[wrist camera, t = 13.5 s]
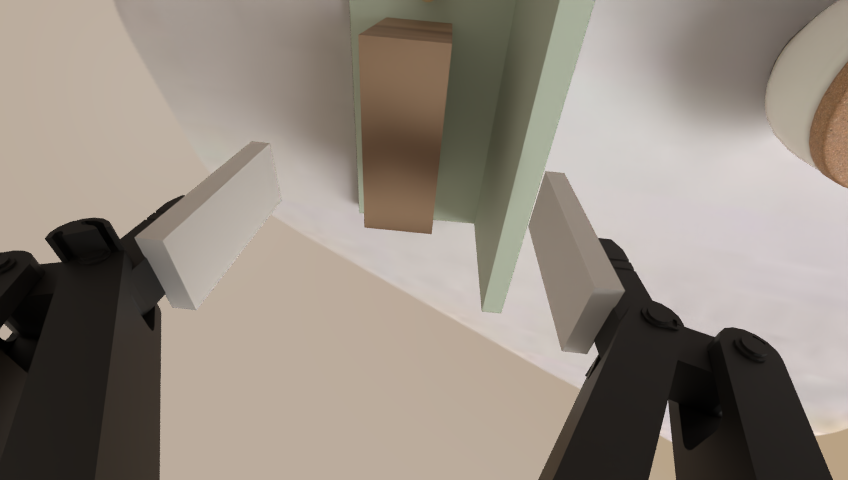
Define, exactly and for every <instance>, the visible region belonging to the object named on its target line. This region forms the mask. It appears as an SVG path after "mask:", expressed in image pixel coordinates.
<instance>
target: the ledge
mask: <svg viewBox="0 0 848 480" xmlns="http://www.w3.org/2000/svg"><path fill="white" fill-rule="evenodd" d="M594 2H595V0H349V8H350V28H351V49H352V69H353V89H354V110H355V130H356V151H357V171H358V192H359V212H360V213H364V194H363V164H362V133H361V103H360V72H359V42H358V35H359V34H360V33H362V32H364V31H365V30H367V29H368V28H370V27H372V26H373V25H375V24H377V23H378V22H380V21H381V20H383V19H385V18H386V17H389V18H400V19H410V20H421V21H431V22H442V23H452V50H451V60H450V69H449V78H448V87H447V96H446V105H445V115H444V124H443V133H442V142H441V151H440V160H439V170H438V179H437V188H436V197H435V206H434V215H433V220H441V221H452V222H462V223H473V224H474V226H475V238H476V250H477V261H478V273H479V284H480V296H481V308H482V312H492V313H501V312H502V308H503V305H504V302H505V298H506V295H507V292H508V288H509V285H510V282H511V278H512V275H513V272H514V268H515V265H516V262H517V258H518V255H519V252H520V248H521V245H522V242H523V238H524V235H525V232H526V229H527V225H528V222H529V219H530V215H531V212H532V209H533V205H534V202H535V199H536V195H537V192H538V189H539V185H540V182H541V179H542V175H543V172H544V169H545V165H546V162H547V159H548V155H549V152H550V149H551V145H552V142H553V139H554V135H555V132H556V129H557V125H558V122H559V119H560V115H561V112H562V109H563V105H564V102H565V99H566V96H567V92H568V89H569V86H570V82H571V79H572V76H573V72H574V69H575V66H576V62H577V59H578V56H579V52H580V49H581V46H582V42H583V39H584V36H585V32H586V29H587V26H588V22H589V19H590V16H591V12H592V9H593V6H594Z"/></svg>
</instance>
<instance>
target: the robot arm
mask: <svg viewBox="0 0 848 480" xmlns="http://www.w3.org/2000/svg"><path fill="white" fill-rule="evenodd" d="M280 202H281V195H280V190H279V185H278V180H277V175H276V170H275V166H274V161H273V156H272V151H271V146H270V143H263V142H253V141H251V142H250V143H249V144H248V145H247V146H245V147H244V148H243V149H242V150H241V151H239V152H238V153H237V154H236V155H234V156H233V157H232V158H231V159H230V160H228V161H227V162H226V163H225V164H223V165H222V166H221V167H220V168H219V169H217V170H216V171H215V172H214V173H212V174H211V175H210V176H209V177H208V178H206V179H205V180H204V181H203V182H201V183H200V184H199V185H198V186H197V187H195V188H194V189H193V190H192V191H191V192H189V193H188V194H187V195H186V196H185V195H182V196H180V197H177V198H175V199H173V200H171V201H169V202H167V203H165V204H164V205H163V206H162V207H160V208H159V209H158V210H157V211H156V213H153V214H152V215H150V216H149V217H148V218H147V220H144V221H143V222H142V223H140V224H139V225H138V226H136V227H135V228H134V229H133V230H131V231H130V232H129V233H128V234H126V235H125V236H124V237H122V238H121V239H119V237H118V236H117V234H116V232H115V230H114V229H113V227H112V225H111V224H110V222H109V221H107V220H105V219H102V218H88V219H81V220H77V221H73V222H69V223H67V224H64V225H62V226H60V227H58V228H56V229H55V230H53V231H52V232H50V233H49V234H48V236H47V237H46V238H45V240H46V241H47V242H48V244H49V245H50V246H51V248H52V249H53V250H54V252H55V253H56V254H57V256H58V257H59V258H60V260H61V261H62V262H58V263H48V264H39V263H38V262H37V260H36V259H35V258H34V257H33V255H32V254H31V253H29V252H26V251H9V252H4V253H0V328H1V327H2V325H3V324H5V325H6V326H7V327H8V328H9V329H10V330H11V331H12V334H11V335H10V337H9V338H8V339H6V340H3V339H1V338H0V480H159V477H160V476H159V474H160V473H159V472H160V471H159V470H160V378H161V373H160V372H161V311H160V308H159V306H158V304H157V302H158V301H159V300H160V299H161V298H162V297H163V296H164V295H166V297H167V298H168V300H169V302H170V304H171V306H172V307H173V308H182V309H191V310H197V309H198V307H199V306H200V305H201V303H202V302H203V301H204V299H205V298H206V297H207V296H208V294H209V293H210V292H211V291H212V289H213V288H214V287H215V285H216V284H217V283H218V282H219V280H220V279H221V278H222V276H223V275H224V274H225V273H226V271H227V270H228V269H229V267H230V266H231V265H232V263H233V262H234V261H235V260H236V258H237V257H238V255H240V253H241V252H242V251H243V249H244V248H245V247H246V246H247V244H248V243H249V241H250V240H251V239H252V238H253V236H254V235H255V234H256V232H257V231H258V230H259V229H260V228H261V226H262V225H263V224H264V222H265V221H266V220H267V218H268V217H269V216H270V215H271V213H272V212H273V211H274V210H275V208H276V207H277V206H278V204H279V203H280ZM528 227H529V230H530V234H531V238H532V242H533V245H534V249H535V253H536V256H537V260H538V264H539V268H540V271H541V275H542V279H543V283H544V286H545V290H546V294H547V298H548V301H549V305H550V309H551V312H552V316H553V320H554V324H555V327H556V331H557V335H558V339H559V342H560V346H561V350H562V351H565V352H574V353H583V354H587V353H588V351H589V350H590V348H591V346H592V345H593V343H594V342H595V345H596V348H597V350H598V353H599V355H598V356H597V358H596V359H595V361H594V362H593V364H592V366H591V367H590V369H589V370H588V372H587V373H586V375H585V376H587V378H586V380H585V382H584V384H583V386H582V388H581V390H580V393H579V395H578V397H577V399H576V401H575V403H574V405H573V407H572V410H571V412H570V414H569V416H568V418H567V420H566V422H565V424H564V426H563V429H562V431H561V433H560V435H559V437H558V439H557V441H556V443H555V446H554V448H553V450H552V452H551V454H550V456H549V458H548V460H547V463H546V465H545V467H544V469H543V471H542V473H541V475H540V477H539V479H538V480H648V479H649V475H650V471H651V467H652V462H653V458H654V454H655V450H656V446H657V442H658V438H659V434H660V430H661V426H662V422H663V418H664V414H665V409H666V405H667V401H668V404H669V414H670V424H671V433H672V443H673V452H674V463H675V473H676V480H833V479H832V476H831V474H830V472H829V469H828V467H827V464H826V462H825V460H824V457H823V455H822V453H821V450H820V448H819V445H818V443H817V441H816V438H815V436H814V433H813V431H812V429H811V426H810V424H809V421H808V419H807V417H806V414H805V412H804V409H803V407H802V405H801V402H800V400H799V397H798V395H797V393H796V390H795V388H794V385H793V383H792V381H791V378H790V376H789V374H788V371H787V369H786V366H785V364H784V362H783V360H782V358H781V356H780V355H779V353H778V352H777V351H776V350H775V349H774V348H773V347H772V346H771V345H770V344H769V343H768V342H766V341H765V340H763V339H761V338H760V337H758V336H757V335H755V334H752V333H750V332H748V331H746V330H743V329H738V328H733V327H732V328H724V329H723V330H722V331H721V332H719V333H718V335H717V336H716V337H713V336H710V335H707V334H704V333H701V332H698V331H695V330H692V329H689V328H686V327H684V324H683V323H682V321H681V319H680V318H679V317H678V316H677V315H676V314H675V313H674V312H673V311H672V310H671V309H669V308H667V307H666V306H664V305H662V304H660V303H657V302H655V301H652V299H651V297H650V296H649V294H648V292H647V290H646V289H645V287H644V285H643V284H642V282H641V280H640V278H639V277H638V275H637V273H636V272H635V271H634V268H633V266H632V265H631V263H630V262H629V260H628V258H627V256H626V254H625V253H624V251H623V249H621V248H620V247H619V246H618V245H617V244H616V243H615V242H613V241H612V240H611V239H602V238H598V237H597V235H596V234H595V232H594V230H593V228H592V226H591V224H590V222H589V220H588V218H587V216H586V214H585V212H584V210H583V208H582V206H581V204H580V202H579V201H578V199H577V197H576V195H575V193H574V191H573V189H572V187H571V185H570V183H569V181H568V179H567V177H566V175H565V173H558V172H548V171H545V175H544V178H543V181H542V184H541V187H540V191H539V194H538V197H537V200H536V203H535V207H534V210H533V213H532V216H531V220H530V223H529V226H528Z"/></svg>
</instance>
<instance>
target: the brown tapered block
mask: <svg viewBox="0 0 848 480" xmlns="http://www.w3.org/2000/svg"><path fill="white" fill-rule="evenodd" d="M358 42H359V72H360V103H361V133H362V164H363V194H364V224H365V227H366V228H376V229H386V230H396V231H406V232H416V233H426V234H432V225H433V215H434V206H435V197H436V188H437V179H438V170H439V160H440V151H441V142H442V133H443V124H444V115H445V105H446V96H447V87H448V78H449V69H450V60H451V50H452V23H442V22H431V21H421V20H410V19H400V18H389V17H386V18H385V19H383V20H381V21H380V22H378V23H377V24H375V25H373V26H372V27H370V28H368V29H367V30H365V31H364V32H362V33H360V34H359V35H358Z"/></svg>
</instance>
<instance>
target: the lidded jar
mask: <svg viewBox="0 0 848 480" xmlns="http://www.w3.org/2000/svg"><path fill="white" fill-rule="evenodd" d="M765 111H766V116H767V120H768V122H769V125H770V127H771V129H772V131H773V133H774V135H775V136H776V137H777V138H778V139H779V140H780V141H781V143H782V144H783V145H784V146H785V147H786V148H787V149H788V150H789V151H790V152H792V153H793V154H794V155H795V156H797V157H798V158H799V159H801V160H802V161H804V162H806V163H807V164H809V165H810V166H812V167H814V168H815V169H817V170H819V171H820V172H821V173H822V174H824V175H825V176H826V177H828V178H830V179H831V180H833V181H834V182H836V183H838V184H839V185H841V186H843V187H846V188H848V0H838V1H837V2H835V3H834V4H832V5H831V6H830V7H828V8H827V9H825V10H824V11H823V12H821V13H820V14H819V15H818V16H817V17H815V18H814V19H813V20H812V21H811V22H809V23H808V24H807V25H806V26H805V27H804V28H803V29H802V30H800V31H799V32H798V33H797V34H796V35H795V36H794V37H793V38H792V39H791V40H790V42H789V43H788V44H787V45H786V46H785V48H784V49H783V51H782V52H781V53H780V55H779V56H778V58H777V60H776V62H775V64H774V66H773V69H772V72H771V75H770V78H769V81H768V83H767V88H766V93H765Z"/></svg>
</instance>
